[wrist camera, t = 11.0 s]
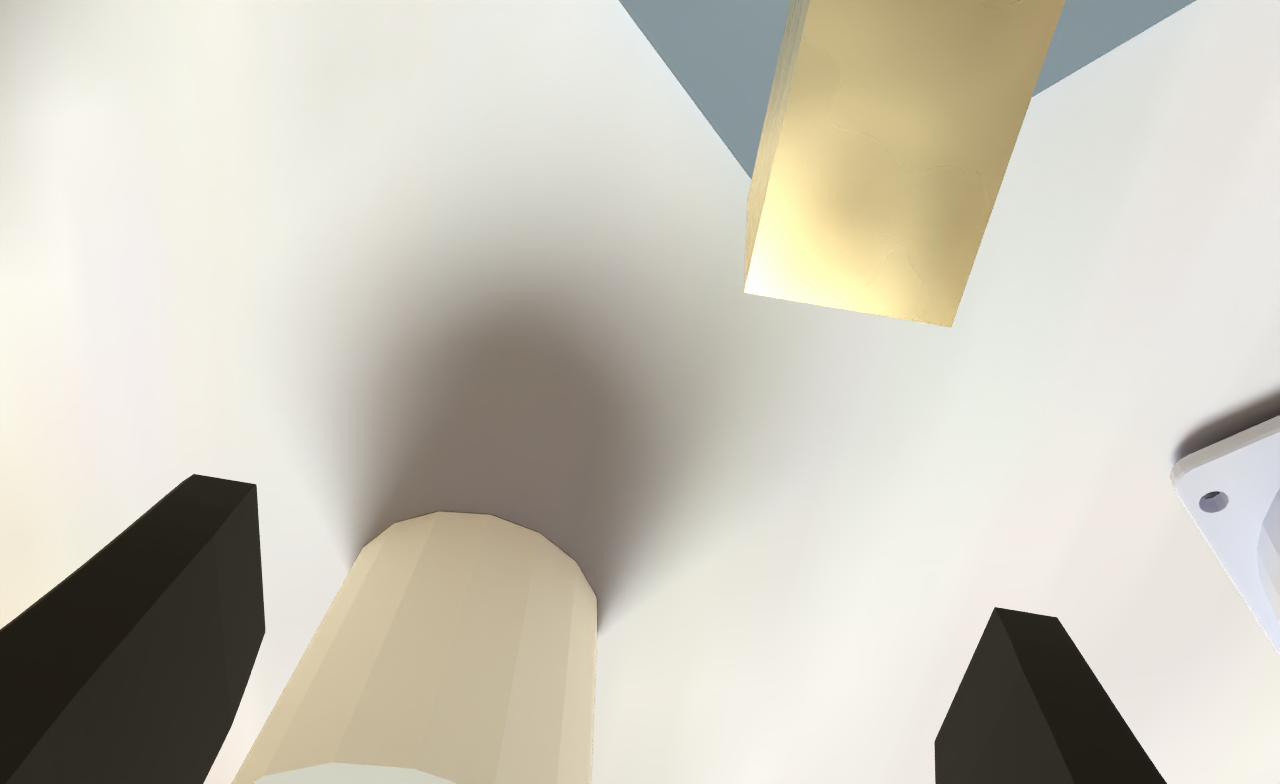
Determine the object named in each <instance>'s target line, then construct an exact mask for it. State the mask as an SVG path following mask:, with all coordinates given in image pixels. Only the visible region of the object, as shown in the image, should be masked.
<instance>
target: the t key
mask: <svg viewBox="0 0 1280 784" xmlns="http://www.w3.org/2000/svg"><path fill="white" fill-rule="evenodd" d="M1064 3H1065V0H790V4H789V8H788V13H787V17H786V22H785V27H784V31H783V36H782V41H781V45H780V50H779V55H778V59H777V64H776V69H775V73H774V78H773V83H772V87H771V92H770V97H769V101H768V106H767V111H766V115H765V120H764V125H763V129H762V134H761V139H760V143H759V148H758V153H757V157H756V162H755V167H754V171H753V176H752V181H751V185H750V190H749V195H748V203H747V230H746V258H745V285H744V292H745V293H751V294H757V295H763V296H768V297H774V298H780V299H786V300H792V301H798V302H804V303H810V304H816V305H822V306H828V307H834V308H840V309H846V310H852V311H858V312H863V313H869V314H875V315H881V316H887V317H893V318H899V319H905V320H911V321H917V322H923V323H929V324H935V325H941V326H947V327H951V326H952V323H953V320H954V318H955V315H956V312H957V309H958V306H959V303H960V300H961V298H962V295H963V292H964V289H965V286H966V283H967V280H968V277H969V275H970V272H971V269H972V266H973V263H974V260H975V257H976V255H977V252H978V249H979V246H980V243H981V240H982V237H983V235H984V232H985V229H986V226H987V223H988V220H989V217H990V215H991V212H992V209H993V206H994V203H995V200H996V197H997V194H998V192H999V189H1000V186H1001V183H1002V180H1003V177H1004V174H1005V172H1006V169H1007V166H1008V163H1009V160H1010V157H1011V154H1012V152H1013V149H1014V146H1015V143H1016V140H1017V137H1018V134H1019V131H1020V129H1021V126H1022V123H1023V120H1024V117H1025V114H1026V111H1027V109H1028V106H1029V103H1030V100H1031V97H1032V94H1033V91H1034V89H1035V86H1036V83H1037V80H1038V77H1039V74H1040V71H1041V68H1042V66H1043V63H1044V60H1045V57H1046V54H1047V51H1048V48H1049V46H1050V43H1051V40H1052V37H1053V34H1054V31H1055V28H1056V26H1057V23H1058V20H1059V17H1060V14H1061V11H1062V8H1063V5H1064Z"/></svg>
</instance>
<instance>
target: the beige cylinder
mask: <svg viewBox="0 0 1280 784" xmlns="http://www.w3.org/2000/svg"><path fill="white" fill-rule="evenodd" d="M596 653H597V597H596V595H595V594H594V592H593V590H592V588H591V587H590V585H589V583H588V581H587V580H586V578H585V576H584V574H583V573H582V571H581V569H580V567H579V566H578V564H577V562H576V561H574V560H573V559H572V558H570V557H569V556H568V555H567V554H565V553H564V552H563V551H562V550H560V549H559V548H558V547H557V546H555V545H554V544H553V543H551V542H550V541H549V540H548V539H546V538H545V537H544V536H543V535H541V534H540V533H538V532H536V531H533V530H530V529H527V528H525V527H522V526H519V525H517V524H514V523H511V522H509V521H506V520H503V519H501V518H498V517H495V516H493V515H487V514H472V513H456V512H441V511H438V512H435V513H431V514H427V515H423V516H419V517H416V518H412V519H408V520H404V521H400V522H397V523H394V524H392V525H391V526H390V527H388V528H387V529H386V530H385V531H383V532H382V533H381V534H380V535H378V536H377V537H376V538H374V539H373V540H372V541H371V542H369V543H368V544H367V545H366V546H364V547H363V548H362V550H361V552H360V554H359V555H358V557H357V559H356V561H355V563H354V564H353V566H352V568H351V570H350V572H349V573H348V575H347V577H346V579H345V581H344V582H343V584H342V586H341V588H340V590H339V591H338V593H337V595H336V597H335V599H334V600H333V602H332V604H331V606H330V608H329V609H328V611H327V613H326V615H325V617H324V618H323V620H322V622H321V624H320V626H319V627H318V629H317V631H316V633H315V635H314V636H313V638H312V640H311V642H310V644H309V645H308V647H307V649H306V651H305V653H304V654H303V656H302V658H301V660H300V661H299V663H298V665H297V667H296V669H295V670H294V672H293V674H292V676H291V678H290V679H289V681H288V683H287V685H286V687H285V688H284V690H283V692H282V694H281V696H280V697H279V699H278V701H277V703H276V705H275V706H274V708H273V710H272V712H271V714H270V715H269V717H268V719H267V721H266V723H265V724H264V726H263V728H262V730H261V732H260V733H259V735H258V737H257V739H256V741H255V742H254V744H253V746H252V748H251V750H250V751H249V753H248V755H247V757H246V759H245V760H244V762H243V764H242V766H241V768H240V769H239V771H238V773H237V775H236V777H235V778H234V780H233V782H232V784H591V778H592V753H593V728H594V703H595V678H596Z"/></svg>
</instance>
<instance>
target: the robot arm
mask: <svg viewBox="0 0 1280 784" xmlns="http://www.w3.org/2000/svg"><path fill="white" fill-rule="evenodd" d="M1170 479H1171V483H1172V486H1173V488H1174V490H1175V493H1176V495H1177V496H1178V498H1179V499H1180V501H1181V503H1182V504H1183V506H1184V507H1185V509H1186V510H1187V512H1188V514H1189V515H1190V517H1191V518H1192V520H1193V521H1194V523H1195V525H1196V526H1197V528H1198V529H1199V531H1200V532H1201V534H1202V536H1203V537H1204V539H1205V540H1206V542H1207V543H1208V545H1209V547H1210V548H1211V550H1212V551H1213V553H1214V554H1215V556H1216V558H1217V559H1218V561H1219V562H1220V564H1221V565H1222V567H1223V569H1224V570H1225V572H1226V573H1227V575H1228V576H1229V578H1230V580H1231V581H1232V583H1233V584H1234V586H1235V587H1236V589H1237V590H1238V592H1239V594H1240V595H1241V597H1242V598H1243V600H1244V601H1245V603H1246V605H1247V606H1248V608H1249V609H1250V611H1251V612H1252V614H1253V616H1254V617H1255V619H1256V620H1257V622H1258V623H1259V625H1260V627H1261V628H1262V630H1263V631H1264V633H1265V634H1266V636H1267V638H1268V639H1269V641H1270V642H1271V644H1272V645H1273V647H1274V649H1275V650H1276V652H1277V653H1278V655H1279V656H1280V415H1278V416H1276V417H1274V418H1272V419H1269V420H1267V421H1265V422H1262V423H1260V424H1258V425H1256V426H1253V427H1251V428H1249V429H1246V430H1244V431H1242V432H1239V433H1237V434H1235V435H1233V436H1230V437H1228V438H1226V439H1223V440H1221V441H1219V442H1217V443H1214V444H1212V445H1210V446H1207V447H1205V448H1203V449H1200V450H1198V451H1196V452H1194V453H1191V454H1189V455H1187V456H1185V457H1184V458H1182V459H1180V460H1179V461H1177V463H1176V464H1175V465H1174V466H1173V468H1172V469H1171V473H1170ZM1214 491H1219V492H1220V493H1219V494H1218V495H1216V496H1215V497H1213V498H1209V499H1201V498H1202V497H1203V496H1204V495H1206V494H1207V493H1210V492H1214ZM264 634H265V617H264V601H263V584H262V568H261V552H260V536H259V519H258V503H257V487H256V484H251V483H244V482H238V481H232V480H226V479H220V478H214V477H208V476H202V475H196V474H193V475H192V476H190V477H189V478H187V479H186V480H184V481H183V482H182V483H180V484H179V485H178V486H177V487H176V488H174V489H173V490H172V491H171V492H170V493H168V494H167V495H166V496H165V497H164V498H162V499H161V500H160V501H159V502H158V503H156V504H155V505H154V506H153V507H152V508H151V509H149V510H148V511H147V512H146V513H145V514H143V515H142V516H141V517H140V518H139V519H138V520H136V521H135V522H134V523H133V524H132V525H130V526H129V527H128V528H127V529H126V530H124V531H123V532H122V533H121V534H120V535H118V536H117V537H116V538H115V539H114V540H113V541H111V542H110V543H109V544H108V545H106V546H105V547H104V548H103V549H102V550H100V551H99V552H98V553H97V554H96V555H94V556H93V557H92V558H91V559H89V560H88V561H87V562H86V563H85V564H83V565H82V566H81V567H80V568H78V569H77V570H76V571H75V572H73V573H72V574H71V575H70V576H68V577H67V578H66V579H65V580H63V581H62V582H61V583H59V584H58V585H57V586H56V587H54V588H53V589H52V590H51V591H49V592H48V593H47V594H46V595H44V596H43V597H42V598H40V599H39V600H38V601H37V602H35V603H34V604H33V605H32V606H30V607H29V608H28V609H26V610H25V611H24V612H23V613H21V614H20V615H19V616H18V617H16V618H15V619H14V620H12V621H11V622H10V623H8V624H7V625H6V626H4V627H3V628H2V629H1V630H0V784H203V783H204V781H205V779H206V777H207V775H208V773H209V771H210V769H211V767H212V765H213V763H214V761H215V759H216V757H217V755H218V753H219V751H220V749H221V747H222V745H223V743H224V740H225V738H226V736H227V734H228V732H229V730H230V728H231V726H232V723H233V721H234V718H235V715H236V713H237V710H238V707H239V704H240V702H241V699H242V696H243V694H244V691H245V688H246V686H247V683H248V680H249V677H250V674H251V671H252V668H253V666H254V663H255V660H256V657H257V654H258V651H259V648H260V645H261V642H262V640H263V637H264ZM935 780H936V784H1167V783H1166V782H1165V780H1164V779H1163V777H1162V776H1161V774H1160V773H1159V772H1158V770H1157V769H1156V767H1155V766H1154V764H1153V763H1152V761H1151V760H1150V758H1149V757H1148V755H1147V754H1146V752H1145V751H1144V749H1143V748H1142V746H1141V745H1140V743H1139V742H1138V740H1137V739H1136V737H1135V736H1134V734H1133V733H1132V731H1131V730H1130V728H1129V727H1128V725H1127V724H1126V722H1125V721H1124V719H1123V718H1122V716H1121V715H1120V713H1119V712H1118V710H1117V709H1116V707H1115V705H1114V704H1113V702H1112V701H1111V699H1110V698H1109V696H1108V695H1107V693H1106V692H1105V690H1104V689H1103V687H1102V685H1101V684H1100V682H1099V681H1098V679H1097V678H1096V676H1095V675H1094V673H1093V672H1092V670H1091V668H1090V667H1089V665H1088V664H1087V662H1086V661H1085V659H1084V658H1083V656H1082V655H1081V653H1080V652H1079V650H1078V649H1077V647H1076V645H1075V644H1074V642H1073V641H1072V639H1071V638H1070V636H1069V635H1068V633H1067V632H1066V630H1065V629H1064V627H1063V626H1062V624H1061V623H1060V621H1059V620H1058V618H1057V617H1051V616H1045V615H1039V614H1033V613H1027V612H1021V611H1015V610H1009V609H1003V608H997V607H995V608H994V610H993V612H992V615H991V617H990V619H989V621H988V624H987V626H986V628H985V630H984V632H983V635H982V637H981V639H980V641H979V644H978V646H977V648H976V650H975V653H974V655H973V657H972V659H971V662H970V664H969V666H968V668H967V670H966V673H965V675H964V677H963V679H962V682H961V684H960V686H959V688H958V691H957V693H956V695H955V697H954V699H953V702H952V704H951V706H950V708H949V711H948V713H947V715H946V717H945V720H944V722H943V724H942V726H941V729H940V731H939V733H938V735H937V737H936V740H935Z"/></svg>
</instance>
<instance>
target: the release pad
mask: <svg viewBox="0 0 1280 784" xmlns="http://www.w3.org/2000/svg"><path fill="white" fill-rule="evenodd" d="M619 1H620V3H621V4H622V5H623V7H624V8H625V9H626V11H627V12H628V14H629V15H630V16H631V18H632V19H633V20H634V22H635V23H636V24H637V26H638V27H639V28H640V30H641V31H642V32H643V34H644V35H645V36H646V38H647V39H648V41H649V42H650V43H651V45H652V46H653V47H654V49H655V50H656V51H657V53H658V54H659V55H660V57H661V58H662V59H663V61H664V62H665V63H666V65H667V66H668V68H669V69H670V70H671V72H672V73H673V74H674V76H675V77H676V78H677V80H678V81H679V82H680V84H681V85H682V86H683V88H684V89H685V91H686V92H687V93H688V95H689V96H690V97H691V99H692V100H693V101H694V103H695V104H696V105H697V107H698V108H699V109H700V111H701V112H702V113H703V115H704V116H705V118H706V119H707V120H708V122H709V123H710V124H711V126H712V127H713V128H714V130H715V131H716V132H717V134H718V135H719V136H720V138H721V139H722V140H723V142H724V143H725V145H726V146H727V147H728V149H729V150H730V151H731V153H732V154H733V155H734V157H735V158H736V159H737V161H738V162H739V163H740V165H741V166H742V168H743V169H744V170H745V172H746V173H747V174H748V176H749V177H750V178H751V180H752V176H753V171H754V167H755V162H756V157H757V153H758V148H759V143H760V139H761V134H762V129H763V125H764V120H765V115H766V111H767V106H768V101H769V97H770V92H771V87H772V83H773V78H774V73H775V69H776V64H777V59H778V55H779V50H780V45H781V41H782V36H783V31H784V27H785V22H786V17H787V13H788V8H789V4H790V0H619ZM1194 1H1196V0H1065V3H1064V5H1063V8H1062V11H1061V14H1060V17H1059V20H1058V23H1057V26H1056V28H1055V31H1054V34H1053V37H1052V40H1051V43H1050V46H1049V48H1048V51H1047V54H1046V57H1045V60H1044V63H1043V66H1042V68H1041V71H1040V74H1039V77H1038V80H1037V83H1036V86H1035V89H1034V91H1033V94H1032V97H1033V96H1035V95H1037V94H1038V93H1040V92H1042V91H1043V90H1045V89H1047V88H1048V87H1050V86H1052V85H1053V84H1055V83H1057V82H1059V81H1060V80H1062V79H1064V78H1065V77H1067V76H1069V75H1070V74H1072V73H1074V72H1075V71H1077V70H1079V69H1081V68H1082V67H1084V66H1086V65H1087V64H1089V63H1091V62H1092V61H1094V60H1096V59H1097V58H1099V57H1101V56H1103V55H1104V54H1106V53H1108V52H1109V51H1111V50H1113V49H1114V48H1116V47H1118V46H1119V45H1121V44H1123V43H1125V42H1126V41H1128V40H1130V39H1131V38H1133V37H1135V36H1136V35H1138V34H1140V33H1141V32H1143V31H1145V30H1147V29H1148V28H1150V27H1152V26H1153V25H1155V24H1157V23H1158V22H1160V21H1162V20H1163V19H1165V18H1167V17H1169V16H1170V15H1172V14H1174V13H1175V12H1177V11H1179V10H1180V9H1182V8H1184V7H1185V6H1187V5H1189V4H1191V3H1192V2H1194Z"/></svg>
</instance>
